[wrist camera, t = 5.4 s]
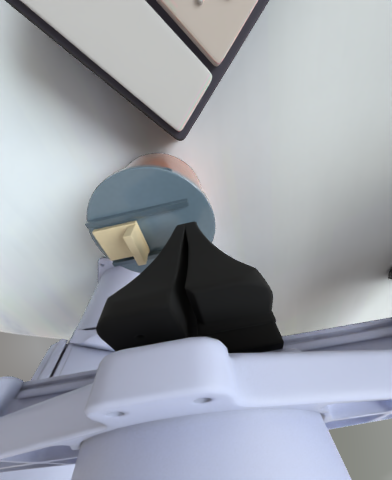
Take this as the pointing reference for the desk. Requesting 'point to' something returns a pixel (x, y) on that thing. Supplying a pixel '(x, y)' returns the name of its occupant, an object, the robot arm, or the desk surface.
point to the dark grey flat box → (151, 47)
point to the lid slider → (123, 242)
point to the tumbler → (150, 203)
